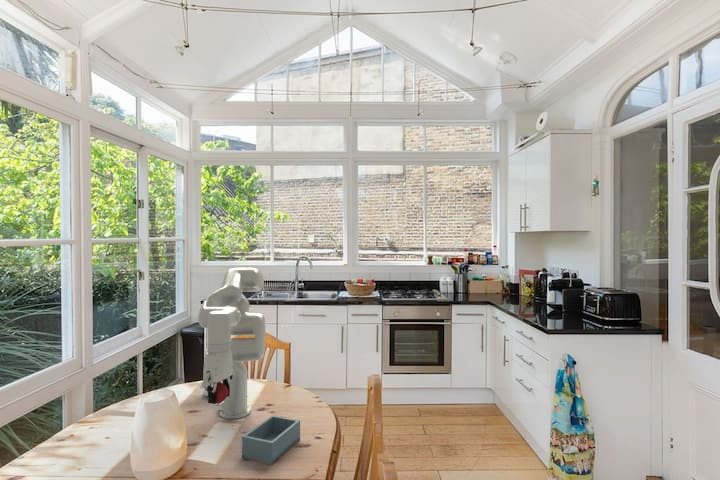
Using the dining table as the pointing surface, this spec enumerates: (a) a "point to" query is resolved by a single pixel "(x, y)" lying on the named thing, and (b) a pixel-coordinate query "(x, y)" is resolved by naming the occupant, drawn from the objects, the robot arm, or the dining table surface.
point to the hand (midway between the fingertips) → (219, 398)
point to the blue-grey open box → (270, 439)
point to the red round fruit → (221, 392)
